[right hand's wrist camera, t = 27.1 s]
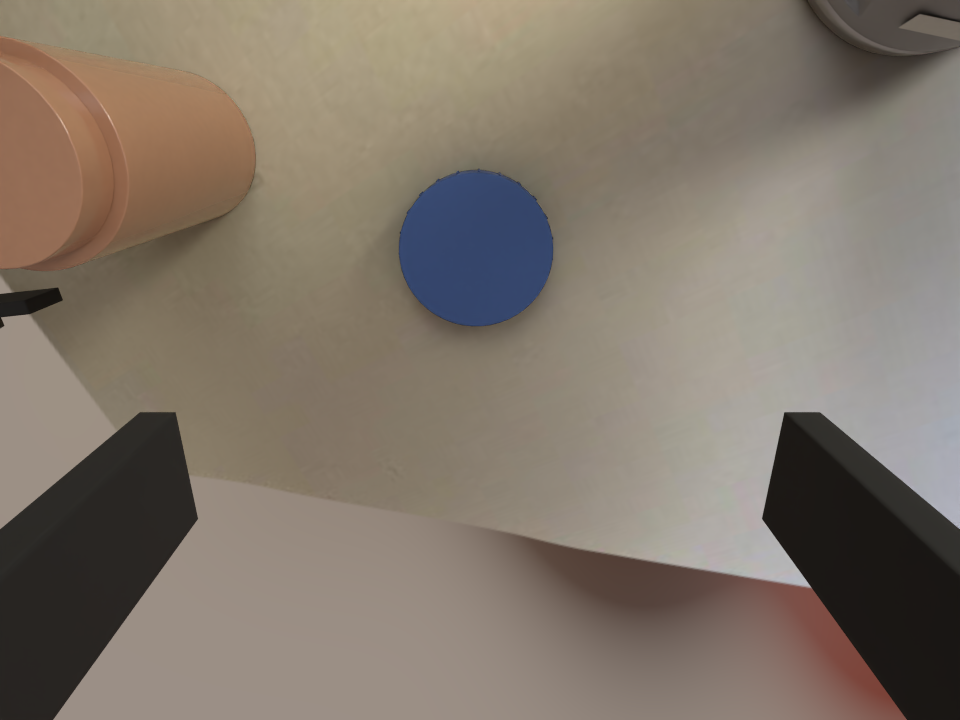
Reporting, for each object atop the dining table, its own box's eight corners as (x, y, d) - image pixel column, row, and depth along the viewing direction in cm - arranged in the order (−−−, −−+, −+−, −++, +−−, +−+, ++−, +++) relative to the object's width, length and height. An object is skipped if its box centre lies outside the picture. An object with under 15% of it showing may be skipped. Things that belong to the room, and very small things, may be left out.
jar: (113, 51, 34) (-176, -10, 19) (264, 93, 34) (101, 66, 20) (108, 201, 37) (-144, 250, 22) (247, 236, 37) (95, 307, 23)
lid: (482, 344, 40) (483, 356, 38) (372, 253, 38) (366, 260, 36) (580, 239, 37) (586, 246, 35) (468, 134, 35) (467, 135, 33)
